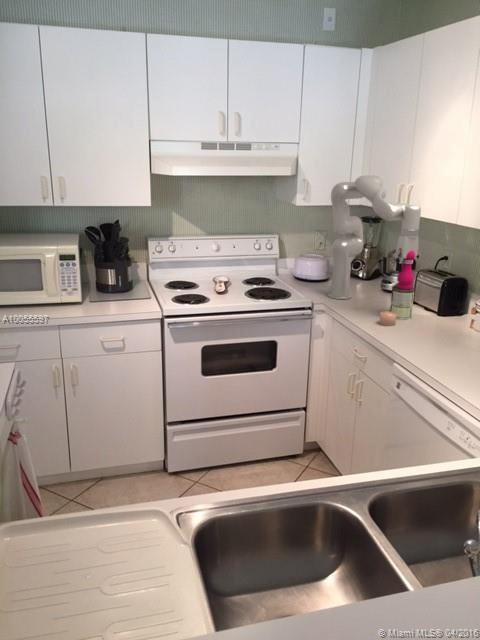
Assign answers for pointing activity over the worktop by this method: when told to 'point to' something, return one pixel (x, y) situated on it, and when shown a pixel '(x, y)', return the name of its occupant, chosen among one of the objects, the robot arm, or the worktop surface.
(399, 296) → the green cylindrical container
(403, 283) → the pepper mill
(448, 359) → the worktop surface
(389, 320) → the pale pink round lump
